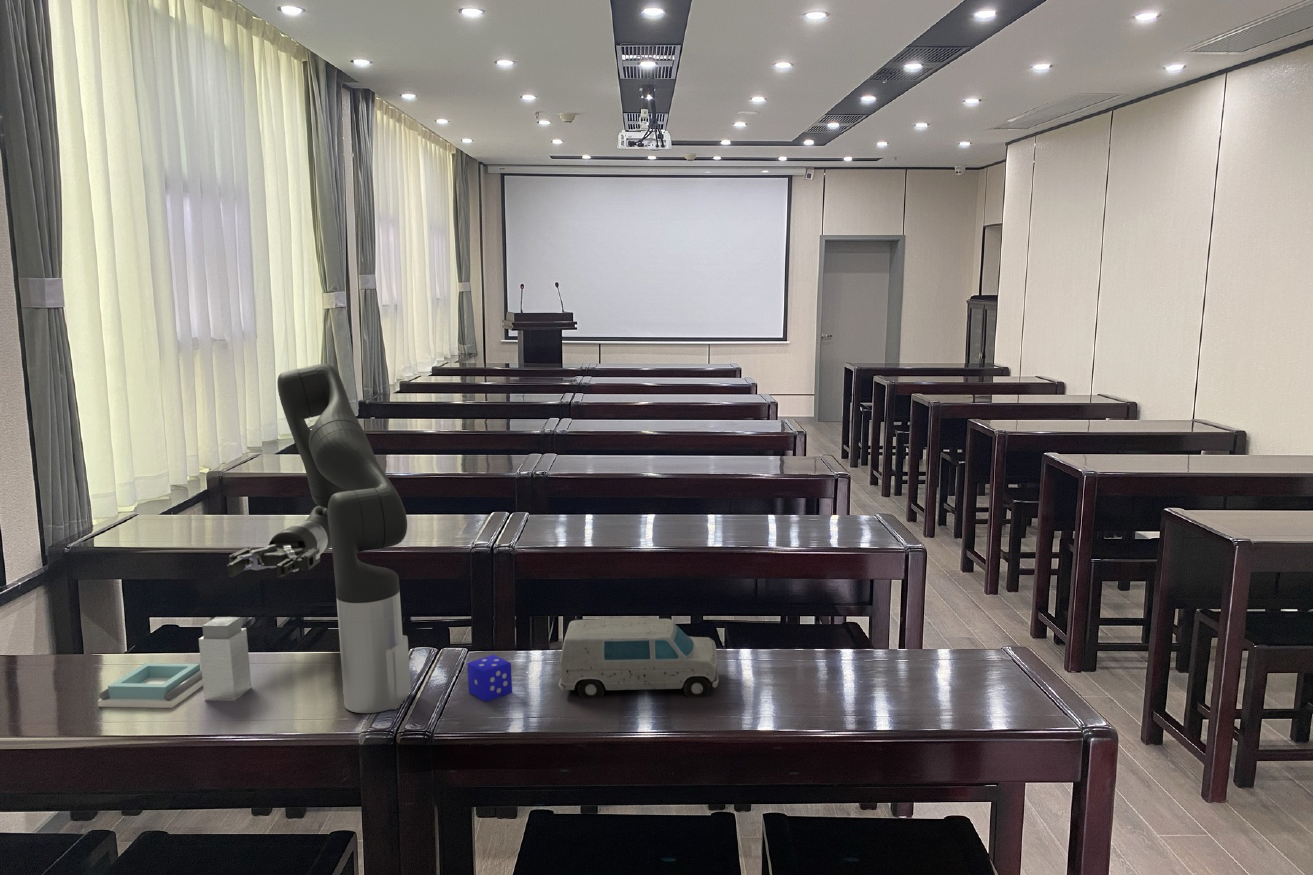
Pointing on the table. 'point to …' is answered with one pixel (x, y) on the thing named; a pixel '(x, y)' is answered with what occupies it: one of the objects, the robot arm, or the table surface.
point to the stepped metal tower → (224, 659)
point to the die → (489, 678)
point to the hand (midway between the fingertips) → (254, 571)
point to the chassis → (153, 686)
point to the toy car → (635, 657)
